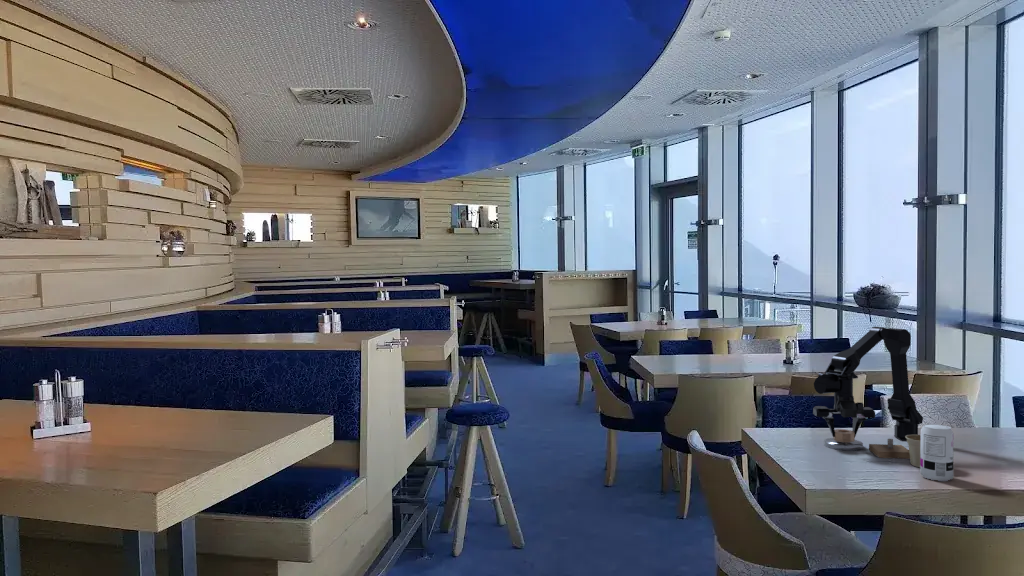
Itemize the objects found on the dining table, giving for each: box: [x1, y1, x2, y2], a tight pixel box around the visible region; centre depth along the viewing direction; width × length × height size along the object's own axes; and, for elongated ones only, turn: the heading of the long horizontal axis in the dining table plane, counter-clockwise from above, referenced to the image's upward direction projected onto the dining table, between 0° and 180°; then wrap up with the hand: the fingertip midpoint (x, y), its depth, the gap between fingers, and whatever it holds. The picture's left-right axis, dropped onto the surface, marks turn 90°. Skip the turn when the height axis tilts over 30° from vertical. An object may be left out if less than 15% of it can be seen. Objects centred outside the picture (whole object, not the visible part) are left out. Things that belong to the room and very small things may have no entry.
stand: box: [868, 438, 910, 460], centre depth 232 cm, size 10×10×5 cm
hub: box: [823, 437, 864, 452], centre depth 243 cm, size 12×12×4 cm
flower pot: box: [905, 434, 921, 468], centre depth 218 cm, size 9×9×9 cm
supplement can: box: [919, 423, 955, 482], centre depth 205 cm, size 8×8×15 cm
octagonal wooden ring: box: [832, 428, 856, 442], centre depth 242 cm, size 6×6×3 cm
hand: (843, 437), depth 243 cm, fingers closed on octagonal wooden ring, 6 cm apart
